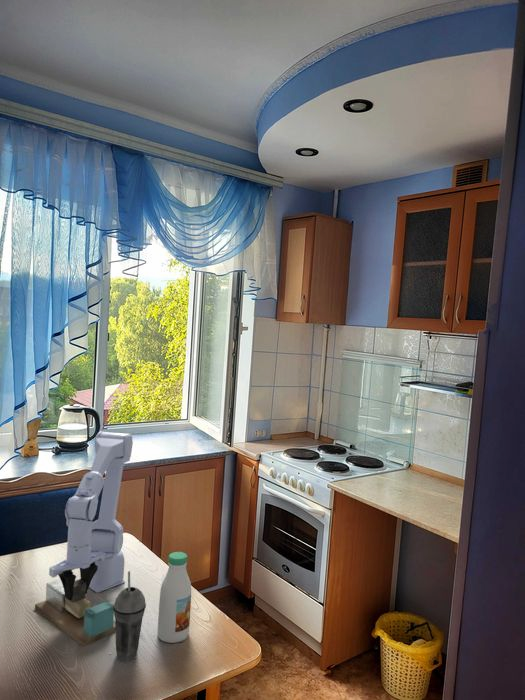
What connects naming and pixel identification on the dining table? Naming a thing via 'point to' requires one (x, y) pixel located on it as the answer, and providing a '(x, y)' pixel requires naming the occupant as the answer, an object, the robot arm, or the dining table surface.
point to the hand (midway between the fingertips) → (76, 595)
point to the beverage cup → (128, 621)
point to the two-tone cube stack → (77, 600)
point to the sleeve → (55, 595)
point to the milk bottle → (175, 601)
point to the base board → (70, 623)
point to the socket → (98, 619)
